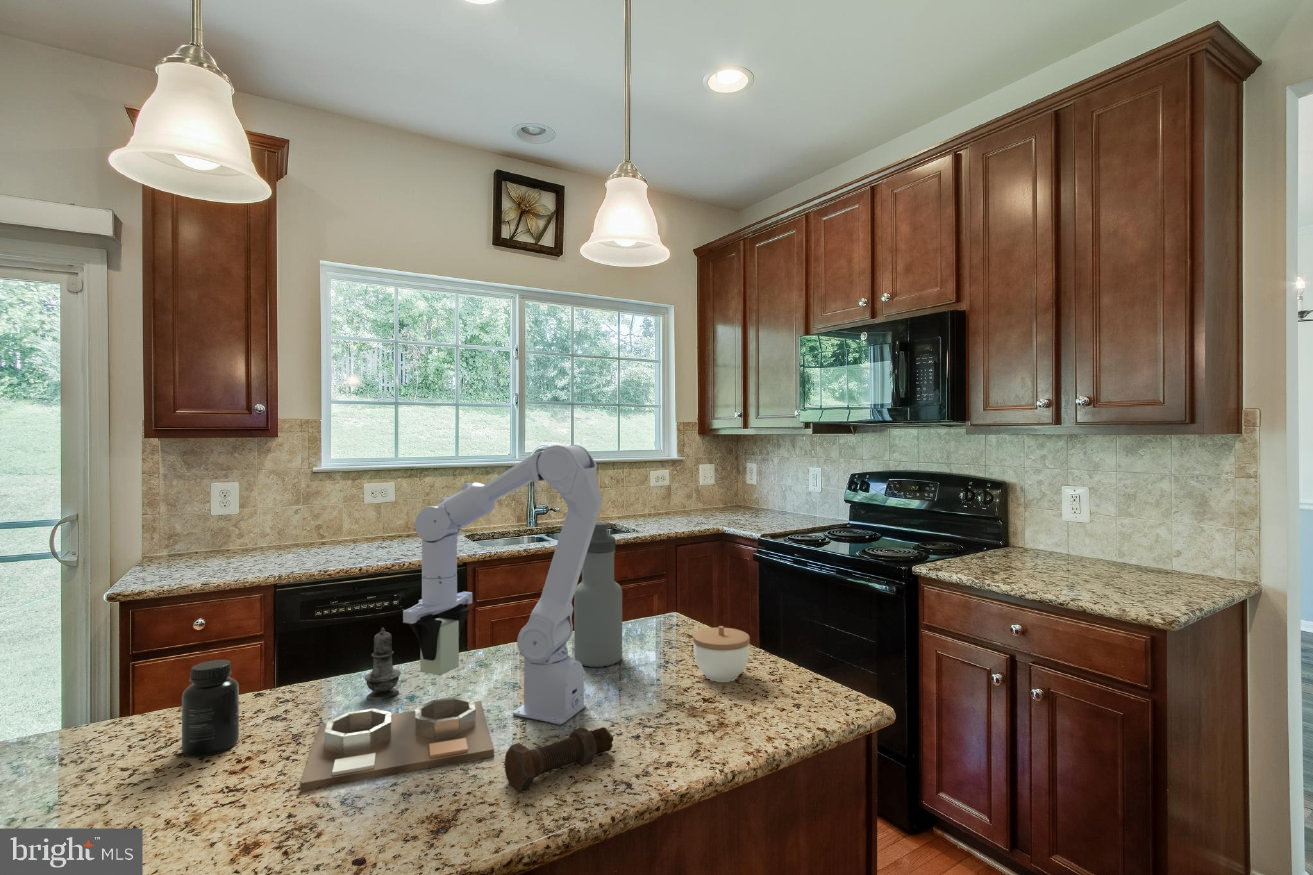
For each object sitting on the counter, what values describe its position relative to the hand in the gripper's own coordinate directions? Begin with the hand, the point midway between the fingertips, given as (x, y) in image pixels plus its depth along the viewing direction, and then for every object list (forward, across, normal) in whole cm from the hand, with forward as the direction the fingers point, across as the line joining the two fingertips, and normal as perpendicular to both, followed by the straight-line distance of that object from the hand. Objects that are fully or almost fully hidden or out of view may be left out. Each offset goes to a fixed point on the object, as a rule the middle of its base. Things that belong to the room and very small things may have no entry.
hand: (439, 654), depth 108 cm
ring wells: (+7, +13, +5) cm, 15 cm away
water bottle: (+8, -29, +15) cm, 34 cm away
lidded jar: (+8, -30, +41) cm, 51 cm away
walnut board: (+8, +14, +6) cm, 17 cm away
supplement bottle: (+8, +26, -19) cm, 33 cm away
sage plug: (+2, 0, 0) cm, 2 cm away
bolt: (+8, +11, +32) cm, 35 cm away
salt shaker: (+8, +2, -11) cm, 14 cm away
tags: (+7, +19, +11) cm, 23 cm away
